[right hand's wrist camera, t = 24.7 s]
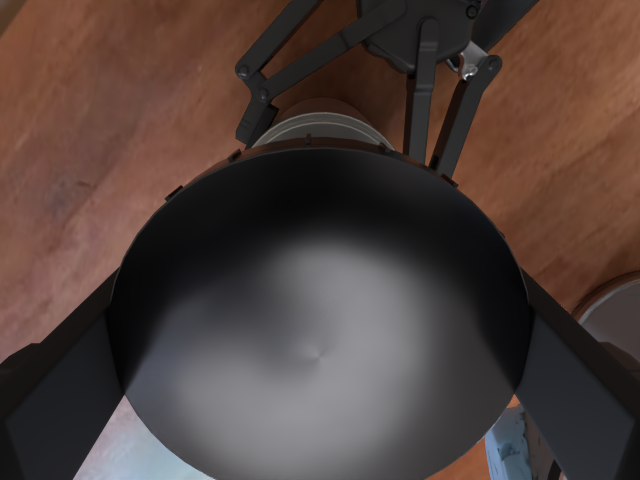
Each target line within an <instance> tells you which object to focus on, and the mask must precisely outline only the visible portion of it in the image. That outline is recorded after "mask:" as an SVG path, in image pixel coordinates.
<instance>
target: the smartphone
mask: <svg viewBox="0 0 640 480" xmlns="http://www.w3.org/2000/svg"><path fill="white" fill-rule="evenodd" d="M538 1H539V0H488V1H487V2H486V4H485V5H484V7H483V9H482V10H481V12H480V13H479V15H478V16H477V18H476V20H475V22H474V25H473V29H472V36H471V41H472V42H473V43H474V44H476V45H477V46H478V47H479V48H481V49H482V50H483V51H484V52H485V53H487V52H488V51H489V50H490V49H491V48H492V47H494V46H495V45H496V44H497V43H498V42H499V41H500V40H501V39H502V38H503V36H504V35H505V34H506V33H508V32H509V31H510V30H511V29H512V28H513V27H514V26H515V25H516V24H517V22H518V21H519V20H520V19H521V18H522V17H523V16H524V15H525V14H526V13H527V12H528V11H529V10H530V9H531V8H532V7H533V6H534V5H535V4H536V3H537V2H538ZM444 62H445V63H446V64H447V65H448V66H449V68H450V69H451V70H452V71H454V72H456V73H457V72H458V68H459V65H460V58H459V56H458V55H456V56H454V57H452V58H450V59H447V60H445V61H444Z"/></svg>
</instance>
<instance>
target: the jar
mask: <svg viewBox="0 0 640 480" xmlns="http://www.w3.org/2000/svg"><path fill="white" fill-rule="evenodd" d="M307 134H311V137H334V138H345V139H355V140H359V141H363V142H368V143H372V144H376V145H379V143H380V142H382V143H384V144H385V145H386V146H387V147H388V148H389V149H391V150H394V151H395V149H394V148H393V147H392V145H391V144H390V143H389V141H388V140H387V139H386V138H385V137H384V136H383V135H382V134H381V133H380V132H379V131H378V130H377V129H376V128H375V127H374V126H373V125H372V124H371V123H370V122H369V121H368V120H367V119H366V118H365V117H364V116H363V115H362V114H361V113H360V112H359V111H358V110H356V109H355V108H354V107H353V106H351V105H349V104H347V103H345V102H343V101H340V100H337V99H333V98H326V97H317V98H311V99H307V100H304V101H301V102H299V103H297V104H295V105H293V106H292V107H290V108H289V109H288V110H286V111H285V112H284V113H283V114H282V115H281V116H280V117H279V118H278V119H277V120H276V121H275V122H274V123H273V125H272V126H271V127H270V128H269V129H268V130H267V131H266V132H265V133H264V134H263V135H262V136H261V137H260V138H259V139H258V140H257V142H256V143H255V144H254V145H253V146H252V148H253V147H257V146H260V145H263V144H266V143H270V142H275V141H281V140H287V139H293V138H304V137H306V135H307Z"/></svg>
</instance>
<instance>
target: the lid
mask: <svg viewBox="0 0 640 480" xmlns="http://www.w3.org/2000/svg"><path fill="white" fill-rule="evenodd" d="M457 187H458V184H457V183H455V182H454V181H453V180H452V179H450V178H449V177H448V176H447V175H445V174H444V173H442V175H441V176H440V175H439V174H438V173H436V172H435V171H434V170H432V169H431V168H429V167H427V166H425V165H424V164H422V163H420V162H418V161H416V160H415V159H413V158H411V157H409V156H407V155H404V154H402V153H399V152H397V151H394V150H391V149H389V148H388V147H387V146H386V145H385V144H384V143H382V142H380V143H379V145H376V144H372V143H368V142H363V141H359V140H355V139H345V138H334V137H311V134H307V135H306V137H304V138H293V139H287V140H281V141H275V142H270V143H266V144H263V145H260V146H257V147H253V148H250V149H247V150H244V151H240V149H237V150H236V151H234V152H233V153H232V154H231V155H230V156H229V157H228V158H227V159H224V160H222V161H220V162H218V163H216V164H215V165H213V166H212V167H210V168H209V169H207V170H206V171H204V172H203V173H201V174H200V175H198V176H197V177H195V178H194V179H193V180H192V181H190V182H189V183H188V184H187V185H186V186H184V187H183V186H182V185H181V186H179V187H178V188H177V189H176V190H174V191H173V192H172V193H171V194H169V195H168V196H167V197H166V198H165V200H166V201H167V202H166V203H165V204H164V205H163V206H161V207H160V208H159V209H158V210H157V211H156V212H155V213H154V214H153V215H152V216H151V218H150V219H149V220H148V221H147V223H146V224H145V225H144V226H143V227H142V229H141V230H140V231H139V232H138V234H137V235H136V237H135V239H134V240H133V242H132V244H131V245H130V247H129V249H128V250H127V252H126V254H125V256H124V257H123V260H122V263H121V265H120V268H119V270H118V273H117V275H116V278H115V281H114V285H113V290H112V294H111V299H110V304H109V321H108V333H109V342H110V347H111V352H112V357H113V361H114V365H115V370H116V374H117V377H118V379H119V382H120V384H121V386H122V389H123V391H124V393H125V396H126V397H127V399H128V401H129V402H130V404H131V406H132V407H133V409H134V411H135V412H136V414H137V415H138V417H139V418H140V419H141V420H142V422H143V423H144V424H145V425H146V427H147V428H148V429H149V430H150V432H151V433H152V434H153V435H154V436H155V437H156V438H157V439H158V440H159V441H160V442H161V443H162V444H163V445H164V446H165V447H166V448H167V449H169V450H170V451H171V452H173V453H174V454H175V455H176V456H178V457H179V458H180V459H182V460H183V461H184V462H185V463H187V464H189V465H190V466H192V467H194V468H195V469H197V470H198V471H200V472H202V473H203V474H205V475H207V476H209V477H211V478H213V479H216V480H424V479H426V478H428V477H430V476H432V475H434V474H435V473H437V472H439V471H441V470H443V469H444V468H446V467H447V466H449V465H450V464H452V463H453V462H455V461H456V460H457V459H459V458H460V457H462V456H463V455H464V454H466V453H467V452H468V451H469V450H470V449H471V448H472V447H473V446H475V445H476V444H477V443H478V442H479V441H480V440H481V439H482V438H483V437H484V436H485V435H486V434H487V433H488V431H489V430H490V429H491V428H492V427H493V426H494V425H495V424H496V422H497V421H498V419H499V418H500V416H501V415H502V414H503V412H504V411H505V409H506V408H507V406H508V405H509V403H510V401H511V399H512V397H513V395H514V393H515V391H516V389H517V387H518V385H519V383H520V380H521V377H522V374H523V371H524V368H525V364H526V359H527V354H528V350H529V344H530V329H531V314H530V307H529V300H528V293H527V289H526V285H525V282H524V279H523V276H522V273H521V269H520V266H519V264H518V262H517V260H516V258H515V256H514V254H513V252H512V250H511V248H510V246H509V244H508V243H507V241H506V240H505V239H504V238H505V236H504V235H503V233H501V232H500V231H499V230H498V229H497V227H496V226H495V225H494V223H493V222H492V221H491V220H490V219H489V218H488V217H487V216H486V215H485V214H484V213H483V212H482V211H481V209H480V208H479V207H478V206H477V205H476V204H475V203H474V202H473V201H472V200H470V199H469V198H468V197H467V196H466V195H464V194H463V193H462V192H461V191H460V190H458V189H457Z"/></svg>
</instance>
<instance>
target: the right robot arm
mask: <svg viewBox="0 0 640 480" xmlns="http://www.w3.org/2000/svg"><path fill="white" fill-rule="evenodd" d="M119 268H120V267H119ZM119 268H118V269H117V270H116V271H115V272H114V273H113V274H111V275H110V276H109V277H108V278H107V279H106V280H105V281H104V282H103V283H102V284H101V285H100V286H99V287H98V288H97V289H96V290H95V291H94V292H93V293H92V294H91V295H90V296H89V297H88V298H87V299H85V300H84V301H83V302H82V303H81V304H80V305H79V306H78V307H77V308H76V309H75V310H74V311H73V312H72V313H71V314H70V315H69V316H68V317H67V318H66V319H65V320H64V321H63V322H62V323H61V324H59V325H58V326H57V327H56V328H55V329H54V330H53V331H52V332H51V333H50V334H49V335H48V336H47V337H46V338H45V339H44V340H43V341H42V342H41V343H31V344H29V345H28V346H26V347H24V348H22V349H21V350H19V351H17V352H15V353H14V354H12V355H10V356H9V357H8V358H7V359H5V360H4V361H3V362H2V363H1V364H0V480H73V478H74V476H75V475H76V473H77V472H78V470H79V468H80V467H81V465H82V463H83V462H84V460H85V458H86V457H87V455H88V453H89V452H90V450H91V449H92V447H93V445H94V444H95V442H96V440H97V439H98V437H99V435H100V434H101V432H102V430H103V429H104V427H105V426H106V424H107V422H108V421H109V419H110V417H111V416H112V414H113V412H114V411H115V409H116V408H117V406H118V404H119V403H120V401H121V399H122V398H123V396H124V394H125V393H124V391H123V389H122V386H121V384H120V382H119V379H118V377H117V374H116V370H115V365H114V361H113V357H112V352H111V347H110V342H109V333H108V321H109V304H110V299H111V294H112V290H113V285H114V281H115V278H116V275H117V273H118V270H119ZM520 269H521V273H522V276H523V279H524V282H525V285H526V289H527V293H528V300H529V307H530V314H531V329H530V344H529V350H528V354H527V359H526V364H525V368H524V371H523V374H522V377H521V380H520V383H519V385H518V387H517V389H516V391H515V395H516V396H517V398H518V400H519V401H520V403H521V405H522V406H523V408H524V410H525V411H526V413H527V415H528V416H529V418H530V419H531V421H532V423H533V424H534V426H535V428H536V429H537V431H538V433H539V434H540V436H541V437H542V439H543V441H544V442H545V444H546V446H547V447H548V449H549V451H550V452H551V454H552V456H553V457H554V459H555V460H556V462H557V464H558V465H559V467H560V469H561V470H562V472H563V474H564V475H565V477H566V479H567V480H640V362H639V361H637V360H636V359H635V358H634V357H633V356H632V355H631V354H629V353H627V352H625V351H624V350H622V349H620V348H618V347H617V346H615V345H613V344H611V343H610V342H598V341H597V340H596V339H595V338H594V337H593V336H592V335H591V334H590V333H589V332H587V331H586V330H585V329H584V328H583V327H582V326H581V325H580V324H579V323H578V322H577V321H576V320H575V319H574V318H573V317H572V316H571V315H570V314H569V313H568V312H567V311H566V310H565V309H564V308H563V307H562V306H560V305H559V304H558V303H557V302H556V301H555V300H554V299H553V298H552V297H551V296H550V295H549V294H548V293H547V292H546V291H545V290H544V289H543V288H542V287H541V286H540V285H539V284H538V283H537V282H536V281H534V280H533V279H532V278H531V277H530V276H529V275H528V274H527V273H526V272H525V271H524V270H523V269H522V268H521V267H520Z"/></svg>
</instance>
